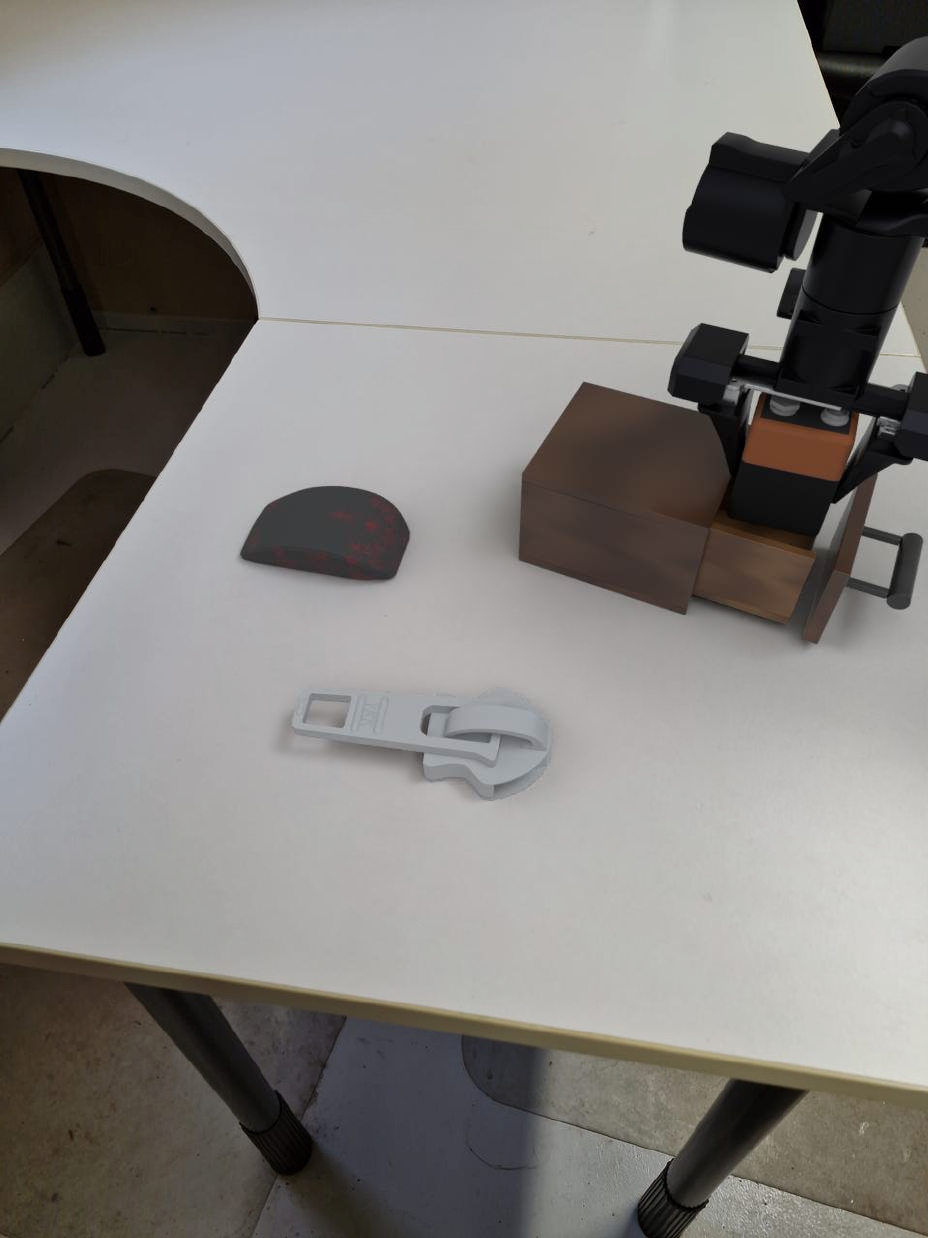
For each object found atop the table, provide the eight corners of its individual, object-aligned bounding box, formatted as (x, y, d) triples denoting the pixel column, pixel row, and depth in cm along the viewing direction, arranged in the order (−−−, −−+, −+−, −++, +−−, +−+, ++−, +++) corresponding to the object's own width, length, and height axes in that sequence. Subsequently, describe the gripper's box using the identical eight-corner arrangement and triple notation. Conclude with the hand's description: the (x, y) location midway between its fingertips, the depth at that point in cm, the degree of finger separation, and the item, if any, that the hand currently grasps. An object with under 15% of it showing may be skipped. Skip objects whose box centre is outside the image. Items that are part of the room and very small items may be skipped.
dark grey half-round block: (389, 591, 71) (385, 558, 68) (236, 567, 73) (225, 533, 70) (415, 525, 76) (412, 491, 73) (270, 503, 78) (262, 469, 75)
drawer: (906, 561, 71) (944, 490, 65) (882, 666, 64) (923, 597, 58) (689, 498, 76) (707, 427, 70) (647, 589, 69) (662, 518, 63)
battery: (734, 484, 68) (764, 375, 60) (823, 503, 66) (866, 394, 58) (724, 520, 65) (754, 411, 58) (816, 541, 63) (860, 431, 56)
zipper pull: (316, 686, 65) (307, 652, 62) (554, 710, 63) (558, 675, 60) (289, 778, 60) (277, 746, 57) (546, 806, 58) (550, 774, 55)
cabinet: (728, 513, 76) (754, 425, 69) (685, 615, 69) (709, 529, 61) (574, 468, 80) (583, 380, 73) (518, 559, 73) (521, 473, 65)
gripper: (1028, 259, 53) (930, 456, 65) (732, 205, 59) (691, 396, 71) (1015, 351, 47) (909, 550, 59) (685, 281, 53) (649, 476, 65)
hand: (783, 486), depth 64 cm, fingers closed on battery, 7 cm apart
